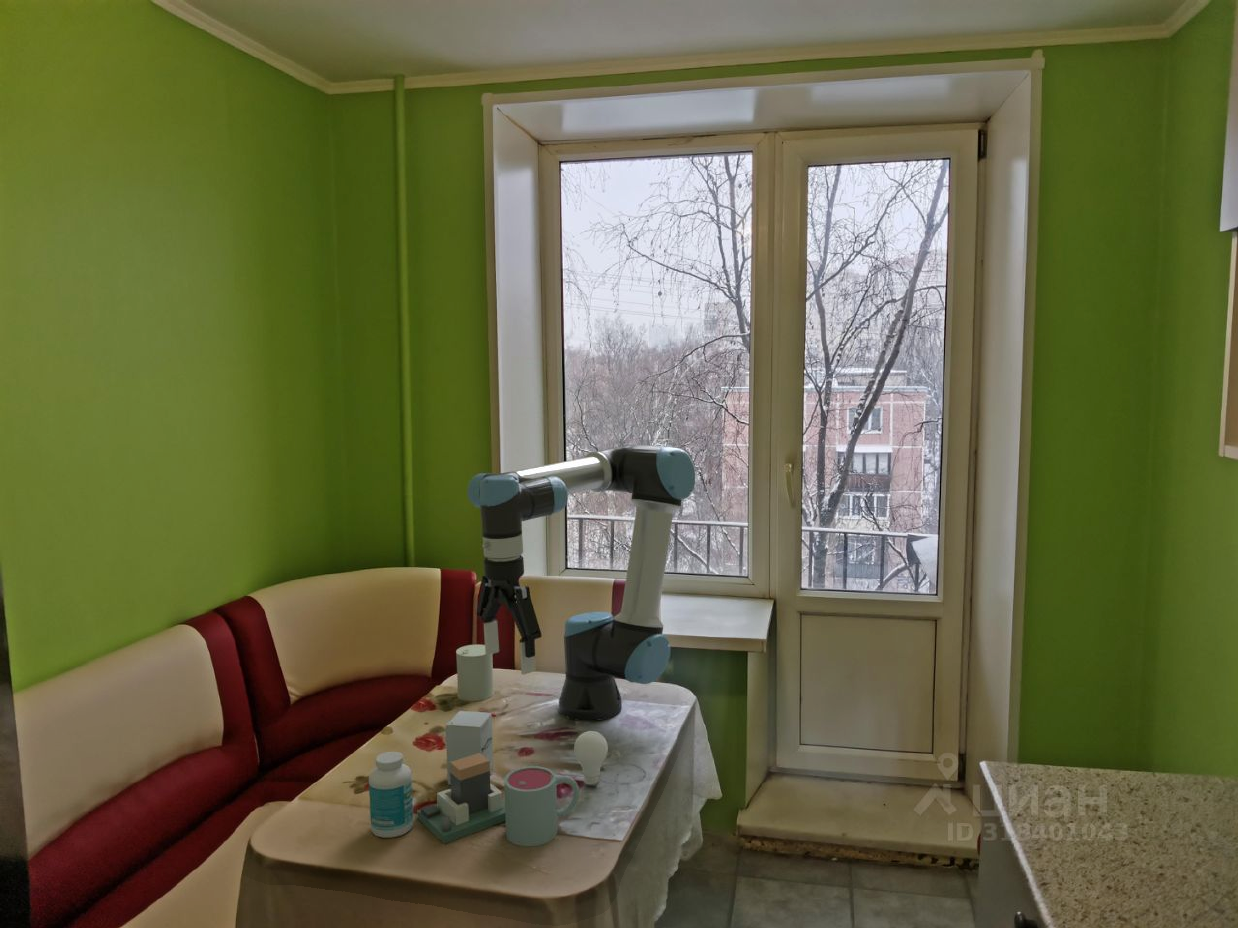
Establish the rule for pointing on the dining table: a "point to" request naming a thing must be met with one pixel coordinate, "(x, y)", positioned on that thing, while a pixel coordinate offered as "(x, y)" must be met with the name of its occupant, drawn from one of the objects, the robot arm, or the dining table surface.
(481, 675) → the can
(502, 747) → the dining table surface
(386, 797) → the pill bottle
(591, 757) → the light bulb
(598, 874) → the dining table surface
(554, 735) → the dining table surface
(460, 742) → the supplement box
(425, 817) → the board
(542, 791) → the mug
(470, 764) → the plug
